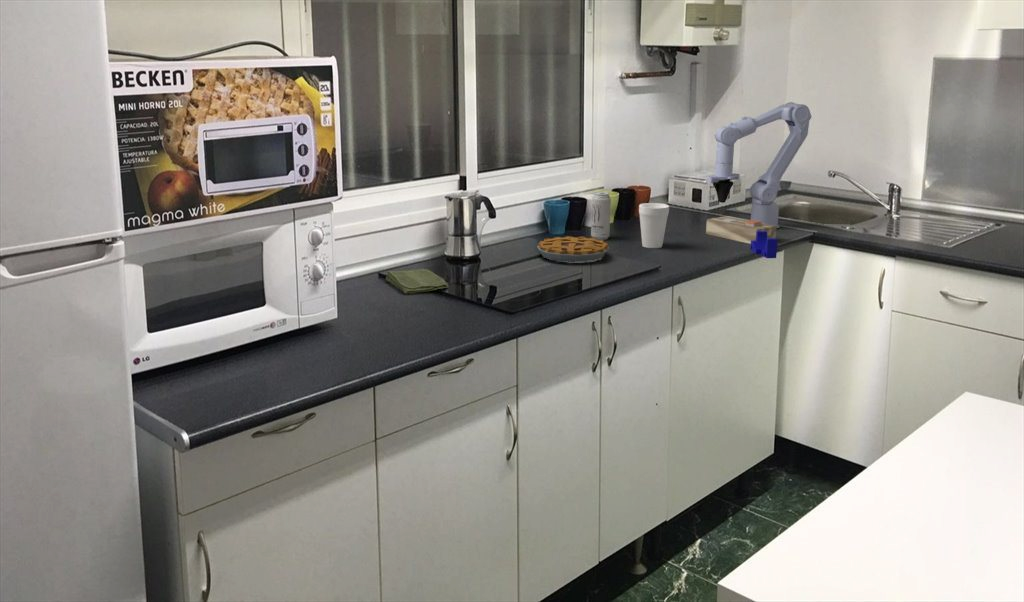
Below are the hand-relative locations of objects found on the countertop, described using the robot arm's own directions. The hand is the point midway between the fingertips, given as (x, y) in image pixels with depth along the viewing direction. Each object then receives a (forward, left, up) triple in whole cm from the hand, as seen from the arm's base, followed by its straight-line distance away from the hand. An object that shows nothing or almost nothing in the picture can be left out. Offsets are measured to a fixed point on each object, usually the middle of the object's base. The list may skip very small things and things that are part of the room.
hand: (721, 202), depth 338 cm
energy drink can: (+44, -13, -10) cm, 47 cm away
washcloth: (+124, +2, -10) cm, 125 cm away
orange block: (+5, +18, -8) cm, 20 cm away
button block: (+5, +13, -9) cm, 17 cm away
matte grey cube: (+5, +8, -9) cm, 13 cm away
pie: (+68, +1, -10) cm, 69 cm away
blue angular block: (+18, +33, -10) cm, 39 cm away
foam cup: (+38, +5, -10) cm, 40 cm away
